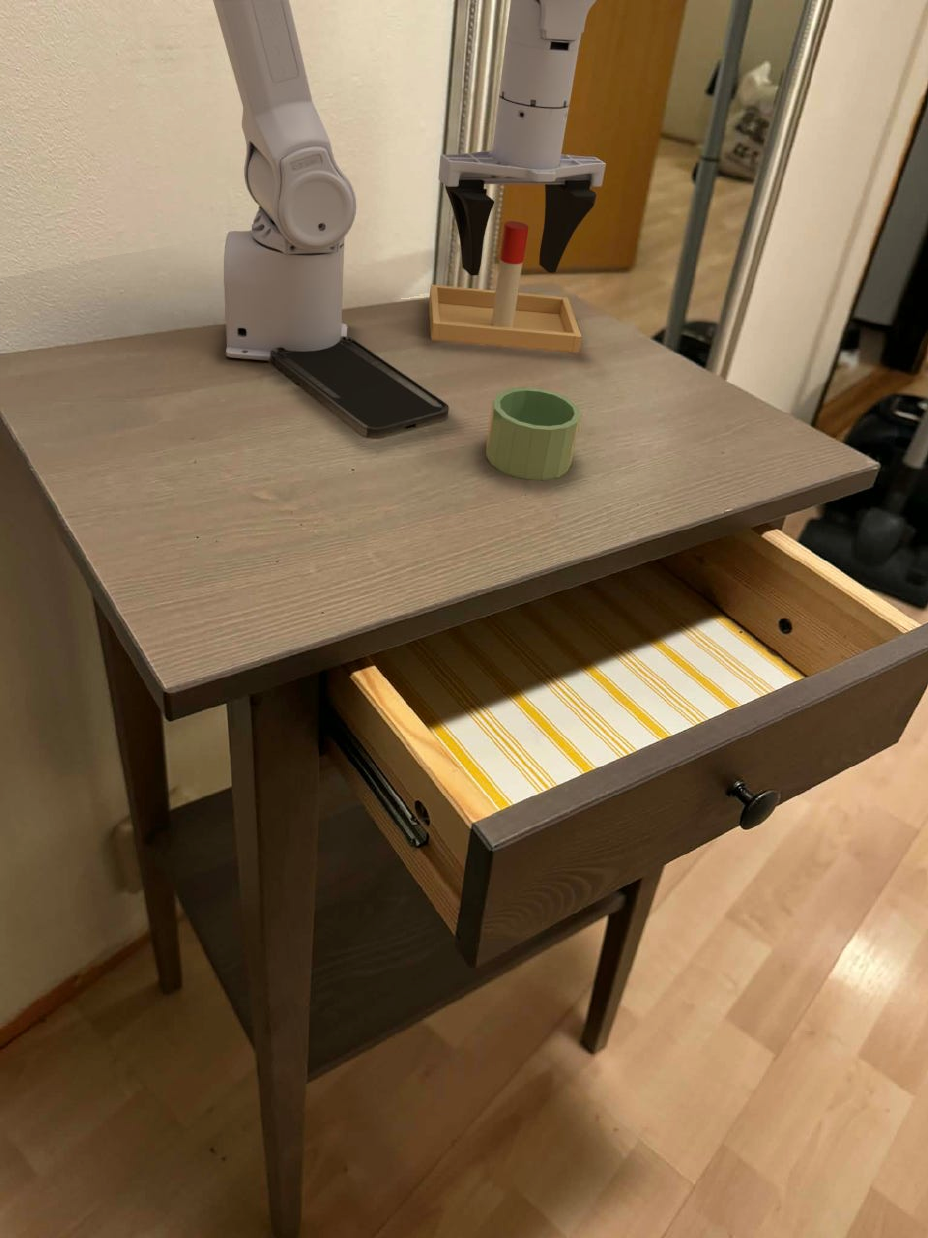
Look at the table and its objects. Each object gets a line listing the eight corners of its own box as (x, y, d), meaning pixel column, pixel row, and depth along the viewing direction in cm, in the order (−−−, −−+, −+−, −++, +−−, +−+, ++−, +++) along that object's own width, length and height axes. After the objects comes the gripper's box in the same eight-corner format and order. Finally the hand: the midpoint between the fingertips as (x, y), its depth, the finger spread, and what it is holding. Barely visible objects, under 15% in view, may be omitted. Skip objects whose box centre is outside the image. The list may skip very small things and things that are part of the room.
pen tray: (431, 344, 83) (433, 322, 82) (428, 304, 90) (430, 284, 89) (577, 357, 85) (581, 336, 83) (563, 317, 92) (567, 297, 91)
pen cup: (488, 482, 66) (497, 425, 64) (482, 439, 71) (490, 383, 68) (574, 488, 67) (587, 432, 64) (563, 445, 72) (574, 390, 69)
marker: (491, 328, 86) (505, 227, 81) (489, 319, 88) (503, 219, 82) (514, 330, 87) (529, 230, 81) (512, 321, 88) (527, 222, 82)
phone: (346, 334, 80) (455, 409, 72) (345, 346, 81) (453, 422, 72) (263, 350, 76) (369, 432, 67) (263, 363, 77) (368, 445, 68)
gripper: (470, 109, 70) (451, 290, 79) (636, 115, 75) (601, 283, 84) (436, 86, 75) (421, 259, 83) (594, 93, 80) (564, 255, 89)
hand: (509, 269), depth 84 cm, fingers open, 7 cm apart
